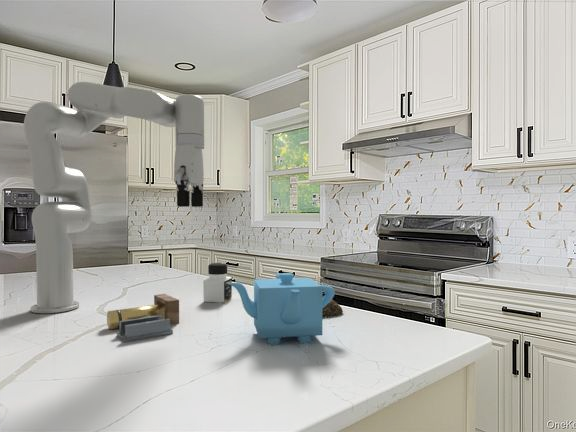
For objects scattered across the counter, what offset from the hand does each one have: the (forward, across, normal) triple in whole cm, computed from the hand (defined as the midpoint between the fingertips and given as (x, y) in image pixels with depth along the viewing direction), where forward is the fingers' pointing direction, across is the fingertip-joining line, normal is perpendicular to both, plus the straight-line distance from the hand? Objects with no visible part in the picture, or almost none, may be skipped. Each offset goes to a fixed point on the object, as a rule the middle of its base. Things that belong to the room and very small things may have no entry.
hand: (190, 206), depth 116 cm
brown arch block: (+30, +3, -6) cm, 31 cm away
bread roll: (+31, -12, +34) cm, 47 cm away
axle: (+30, +8, -11) cm, 33 cm away
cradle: (+30, +16, -5) cm, 34 cm away
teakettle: (+30, +13, +27) cm, 43 cm away
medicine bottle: (+30, -23, 0) cm, 38 cm away
